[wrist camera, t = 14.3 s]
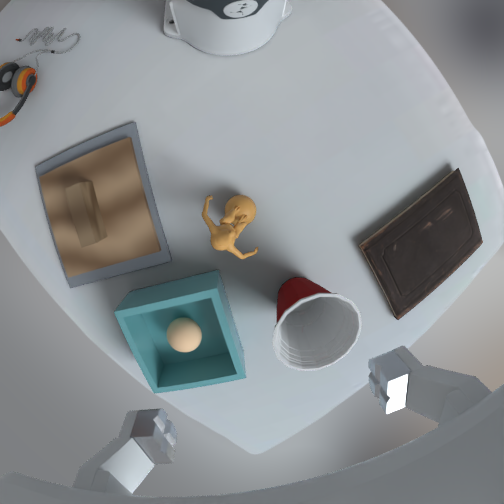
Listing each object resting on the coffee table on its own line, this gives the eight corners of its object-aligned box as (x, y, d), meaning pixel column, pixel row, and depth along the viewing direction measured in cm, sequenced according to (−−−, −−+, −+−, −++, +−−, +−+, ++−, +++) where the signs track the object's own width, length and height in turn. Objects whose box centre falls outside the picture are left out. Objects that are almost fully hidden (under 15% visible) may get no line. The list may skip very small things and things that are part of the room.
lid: (42, 177, 35) (23, 178, 30) (131, 137, 35) (118, 133, 30) (71, 275, 39) (55, 286, 34) (161, 249, 39) (152, 259, 34)
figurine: (271, 222, 40) (288, 241, 28) (237, 250, 41) (240, 281, 29) (230, 175, 38) (231, 175, 26) (196, 205, 39) (182, 218, 27)
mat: (37, 167, 35) (35, 167, 34) (135, 122, 35) (134, 121, 34) (71, 286, 40) (70, 288, 39) (172, 260, 40) (171, 261, 40)
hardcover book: (355, 242, 42) (361, 246, 40) (450, 167, 40) (459, 168, 38) (392, 316, 46) (399, 321, 44) (476, 241, 44) (483, 244, 42)
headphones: (83, 22, 27) (5, 133, 26) (91, 40, 32) (23, 143, 32) (24, 15, 24) (-41, 110, 23) (34, 29, 29) (-25, 119, 29)
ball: (165, 315, 41) (158, 332, 36) (197, 308, 41) (193, 324, 36) (176, 343, 42) (171, 361, 38) (207, 337, 42) (205, 355, 38)
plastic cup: (280, 339, 45) (296, 388, 33) (247, 284, 42) (254, 324, 30) (341, 306, 44) (373, 346, 32) (315, 247, 41) (346, 275, 30)
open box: (129, 291, 41) (113, 311, 34) (218, 269, 41) (217, 288, 34) (162, 366, 45) (154, 393, 38) (243, 350, 45) (246, 377, 38)
